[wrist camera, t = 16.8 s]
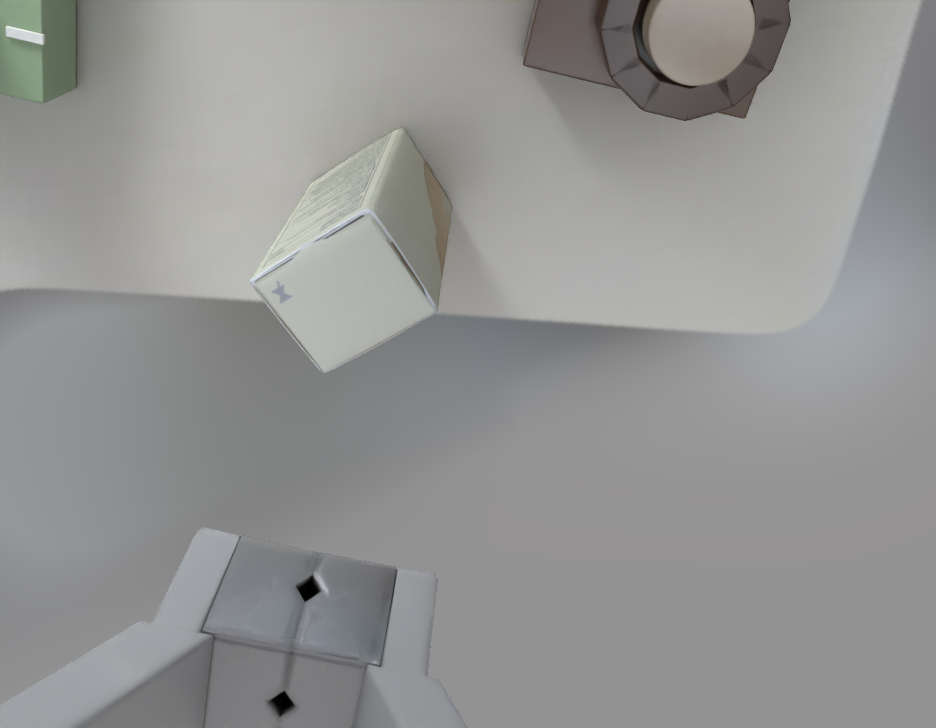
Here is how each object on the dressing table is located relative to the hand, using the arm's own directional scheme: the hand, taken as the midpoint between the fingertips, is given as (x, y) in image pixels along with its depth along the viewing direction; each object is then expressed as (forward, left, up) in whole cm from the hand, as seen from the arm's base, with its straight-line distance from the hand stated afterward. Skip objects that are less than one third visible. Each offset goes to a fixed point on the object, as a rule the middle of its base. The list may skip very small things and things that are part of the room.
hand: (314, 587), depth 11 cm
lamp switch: (-5, +8, -26) cm, 27 cm away
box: (+5, -2, -29) cm, 30 cm away
